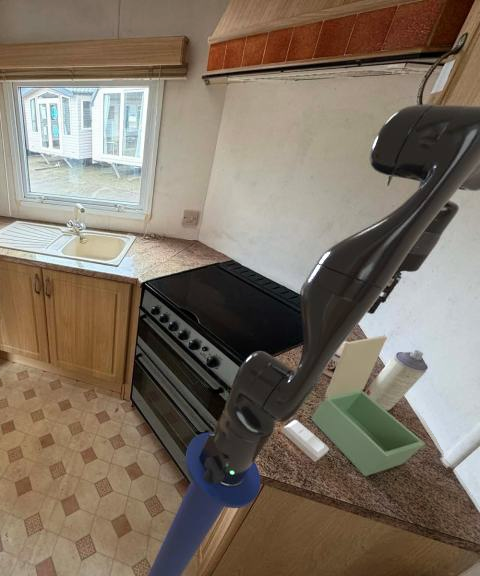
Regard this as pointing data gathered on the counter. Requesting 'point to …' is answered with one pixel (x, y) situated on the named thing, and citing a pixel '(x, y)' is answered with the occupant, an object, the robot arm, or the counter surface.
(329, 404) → the container
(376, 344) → the lid
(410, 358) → the aerosol can
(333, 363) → the teacup with lid
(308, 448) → the white light switch
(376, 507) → the counter surface
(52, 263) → the counter surface
